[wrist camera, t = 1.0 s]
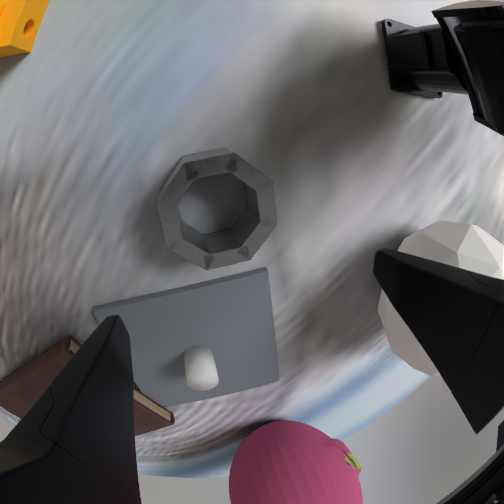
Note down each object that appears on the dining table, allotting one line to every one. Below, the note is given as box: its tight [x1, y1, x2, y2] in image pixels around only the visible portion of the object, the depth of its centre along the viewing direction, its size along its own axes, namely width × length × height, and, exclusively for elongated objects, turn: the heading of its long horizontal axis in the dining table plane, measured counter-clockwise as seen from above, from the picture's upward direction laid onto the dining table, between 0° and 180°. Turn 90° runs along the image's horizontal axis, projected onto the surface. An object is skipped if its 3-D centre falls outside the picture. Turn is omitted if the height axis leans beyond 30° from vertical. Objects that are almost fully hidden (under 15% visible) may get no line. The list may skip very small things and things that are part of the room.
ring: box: [156, 148, 277, 270], centre depth 17 cm, size 7×7×3 cm
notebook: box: [0, 336, 175, 436], centre depth 23 cm, size 15×20×2 cm
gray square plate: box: [92, 267, 279, 407], centre depth 22 cm, size 14×14×4 cm
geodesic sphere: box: [377, 220, 504, 376], centre depth 20 cm, size 15×14×14 cm
